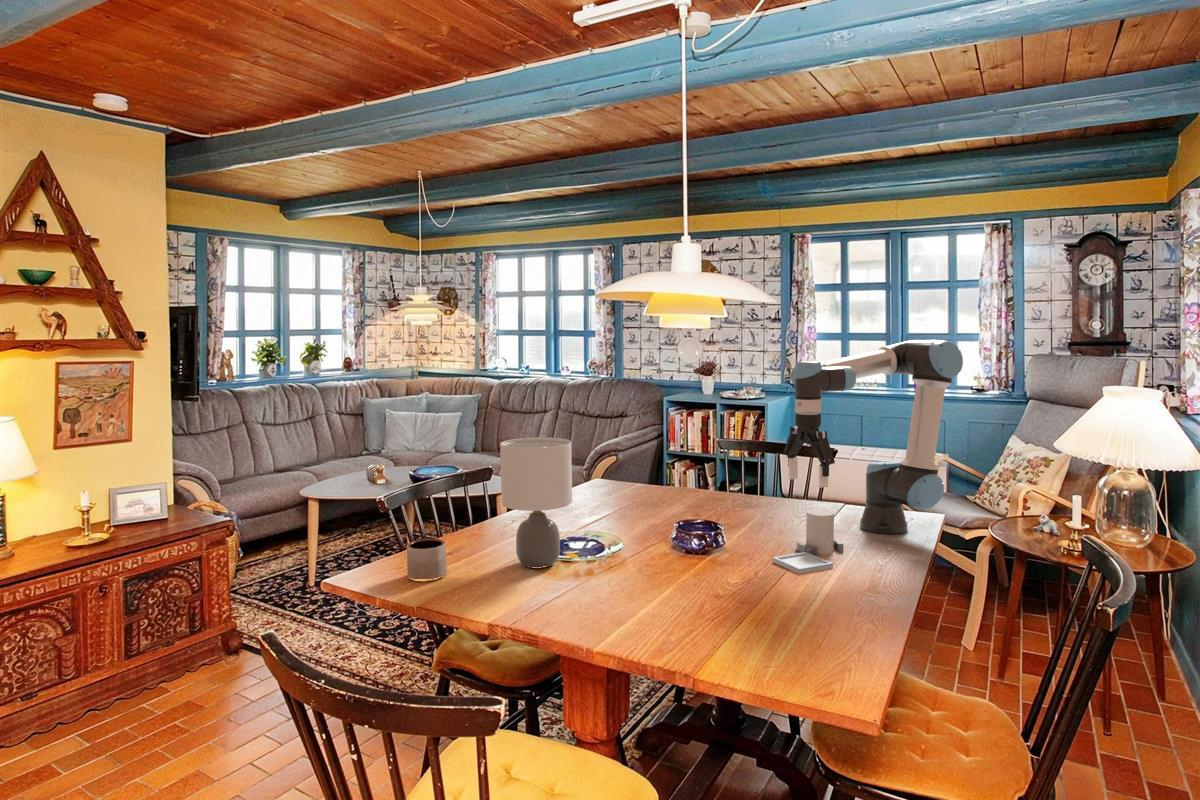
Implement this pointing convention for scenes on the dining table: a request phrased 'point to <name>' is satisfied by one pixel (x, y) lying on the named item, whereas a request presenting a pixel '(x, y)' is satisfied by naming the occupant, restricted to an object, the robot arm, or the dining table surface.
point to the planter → (426, 559)
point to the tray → (802, 562)
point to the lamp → (536, 493)
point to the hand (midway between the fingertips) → (807, 482)
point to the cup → (820, 530)
